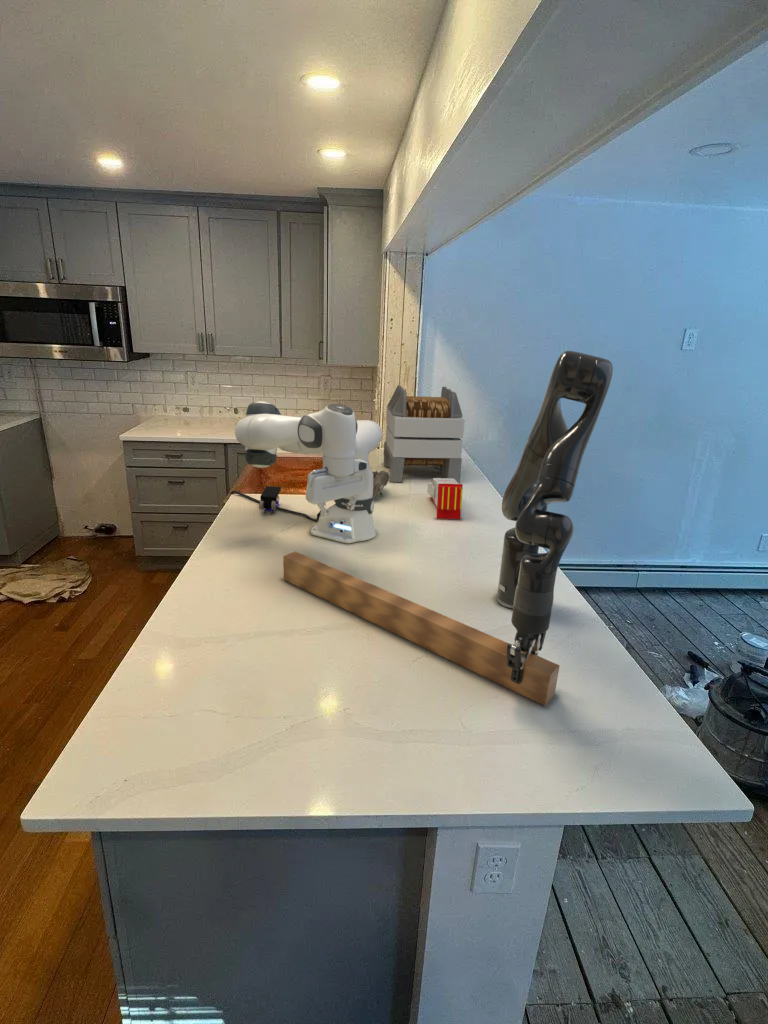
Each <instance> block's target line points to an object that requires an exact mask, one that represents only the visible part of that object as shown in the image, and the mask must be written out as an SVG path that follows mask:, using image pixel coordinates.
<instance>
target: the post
mask: <svg viewBox="0 0 768 1024" xmlns="http://www.w3.org/2000/svg"><path fill="white" fill-rule="evenodd" d="M282 561H283V562H282V563H283V564H282V566H283V580H284V581H286V582H287V583H290V584H292V585H293V586H295V587H298V588H299V589H302V590H304V591H306V592H309V593H310V594H312V595H315V596H317V597H318V598H321V599H322V600H325V601H327V602H329V603H331V604H333V605H335V606H337V607H339V608H341V609H344V610H345V611H347V612H350V613H352V614H353V615H356V616H357V617H360V618H362V619H364V620H366V621H368V622H370V623H372V624H374V625H377V626H379V627H381V628H383V629H385V630H387V631H388V632H391V633H393V634H395V635H397V636H399V637H401V638H403V639H406V640H407V641H409V642H412V643H413V644H416V645H417V646H419V647H420V646H421V647H422V648H424V649H426V650H428V651H430V652H432V653H434V654H436V655H438V656H440V657H443V658H444V659H447V660H449V661H451V662H453V663H455V664H456V665H459V666H462V667H463V668H465V669H466V670H467V669H468V670H470V671H472V672H474V673H476V674H478V675H479V676H482V677H484V678H486V679H489V681H492V682H494V683H495V684H498V685H500V686H503V687H504V688H507V689H509V690H510V691H513V692H514V693H517V694H519V695H521V696H523V697H525V698H528V699H530V700H531V701H534V702H536V703H538V704H540V705H541V706H544V707H546V706H547V705H548V703H550V702H551V700H552V699H553V698H554V697H555V695H556V688H557V684H558V678H559V671H560V664H558V663H555V662H553V661H551V660H549V659H546V658H544V657H542V656H539V655H535V654H532V653H531V654H530V657H529V659H526V662H525V666H524V671H523V677H522V682H521V683H520V684H517V683H515V682H513V681H511V673H512V668H510V667H508V666H507V646H508V644H510V643H509V642H507V641H504V640H502V639H500V638H498V637H495V636H493V635H491V634H488V633H486V632H483V631H481V630H479V629H476V628H475V627H472V626H469V625H468V624H465V623H463V622H460V621H458V620H456V619H454V618H451V617H448V616H446V615H445V614H442V613H440V612H437V611H435V610H433V609H430V608H428V607H426V606H423V605H421V604H419V603H417V602H414V601H412V600H410V599H407V598H404V597H402V596H400V595H397V594H395V593H393V592H392V591H389V590H386V589H384V588H381V587H379V586H377V585H374V584H373V583H370V582H368V581H365V580H363V579H361V578H358V577H356V576H354V575H352V574H349V573H347V572H344V571H342V570H340V569H337V568H335V567H333V566H330V565H328V564H326V563H323V562H321V561H319V560H317V559H314V558H312V557H310V556H308V555H305V554H302V553H300V552H298V551H292V552H290V553H287V554H284V555H283V556H282ZM522 653H523V654H526V652H523V651H522ZM521 661H522V658H521Z"/></svg>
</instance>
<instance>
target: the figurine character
mask: <svg viewBox="0 0 768 1024" xmlns="http://www.w3.org/2000/svg"><path fill="white" fill-rule="evenodd" d="M281 490H282V486H272V485H266V486H265V488H264V489H263V490H262V493H261V494H260V500H259V501H260V503H258V509H259V511H263V512H262V513H263V514H264V515H266V513H267V512H270V515H273V514H274V513H275V511H276V510H277V509H276V507H280V503H279V502H280V496H279V495H280V492H281Z"/></svg>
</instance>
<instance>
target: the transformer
mask: <svg viewBox="0 0 768 1024" xmlns="http://www.w3.org/2000/svg"><path fill="white" fill-rule="evenodd" d="M440 393H441V394H440V396H415V395H414V396H413V395H412V396H411V395H407V394H408V393H407V390H406V389H404V388H403V387H402V385H399V384H398V385H397V386H396V388H395V390H394V392H393V394H392V395H391V398H390V400H389V402H388V404H387V405H386V413H385V414H386V415H385V423H386V428H385V438H384V442H383V466H384V467H388V468H389V474H388V475H389V481H390V482H391V483H402V482H403V475H404V469H405V466H406V467H407V466H411V467H412V466H413V467H415V466H416V467H417V466H418V467H436V468H437V470H438V469H439V473H440V474H441V475H443V478H454V479H455V480H456V481H457V482H458V483H459V484H460V483H461V472H462V461H463V460H462V453H463V442H464V441H463V440H462V439H463V438H464V431H465V430H464V429H465V419H464V418H463V411H462V408H461V405H460V402H459V398H458V395H457V392H455V391H453V390H452V389H451V388H447V386H442V387H441V392H440Z"/></svg>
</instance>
